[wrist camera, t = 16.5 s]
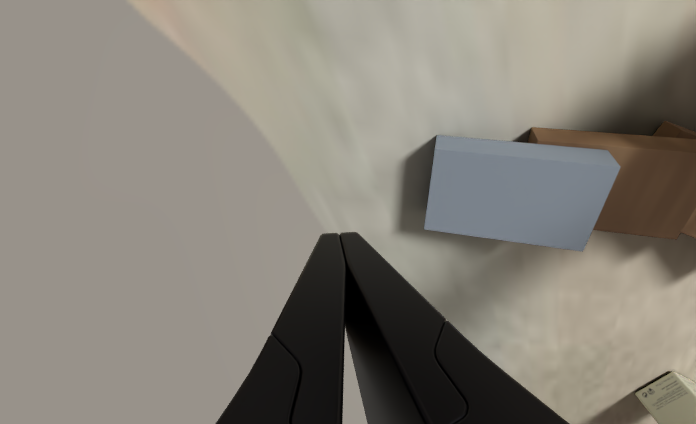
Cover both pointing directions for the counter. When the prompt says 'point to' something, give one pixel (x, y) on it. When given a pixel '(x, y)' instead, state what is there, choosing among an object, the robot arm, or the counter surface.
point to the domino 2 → (639, 179)
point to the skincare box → (670, 399)
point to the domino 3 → (667, 129)
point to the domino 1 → (518, 191)
